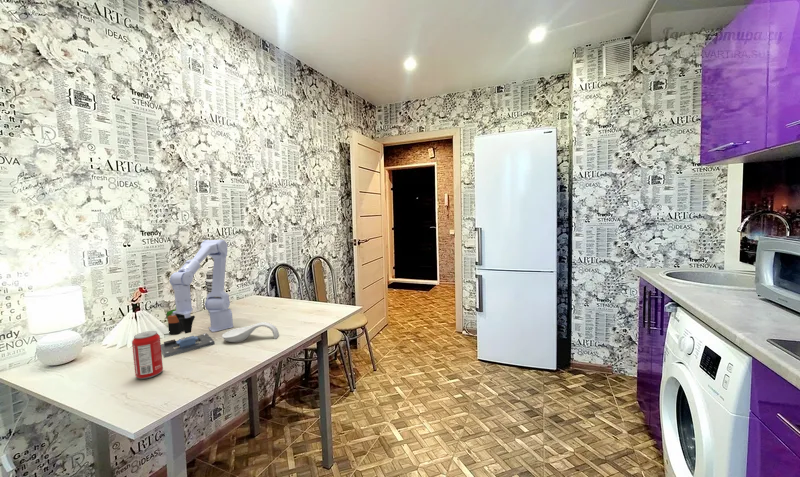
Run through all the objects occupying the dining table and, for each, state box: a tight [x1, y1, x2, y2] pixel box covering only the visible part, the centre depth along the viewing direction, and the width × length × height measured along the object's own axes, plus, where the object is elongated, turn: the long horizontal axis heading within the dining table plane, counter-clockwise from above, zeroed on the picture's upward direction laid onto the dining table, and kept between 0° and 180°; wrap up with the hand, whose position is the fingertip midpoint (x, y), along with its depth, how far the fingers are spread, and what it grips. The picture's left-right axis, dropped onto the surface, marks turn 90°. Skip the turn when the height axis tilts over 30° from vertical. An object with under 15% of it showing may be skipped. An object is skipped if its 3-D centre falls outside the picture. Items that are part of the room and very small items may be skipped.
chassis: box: [161, 333, 215, 358], centre depth 143 cm, size 18×14×2 cm
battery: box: [167, 313, 184, 336], centre depth 161 cm, size 4×7×10 cm, turn 5°
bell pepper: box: [166, 306, 176, 320], centre depth 172 cm, size 8×8×10 cm
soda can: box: [131, 330, 164, 380], centre depth 117 cm, size 8×8×15 cm
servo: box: [175, 335, 198, 348], centre depth 143 cm, size 8×3×4 cm, turn 132°
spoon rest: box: [221, 321, 280, 343], centre depth 149 cm, size 24×12×7 cm, turn 95°
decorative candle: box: [204, 269, 221, 316], centre depth 190 cm, size 9×9×25 cm
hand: (186, 330), depth 143 cm, fingers open, 7 cm apart
